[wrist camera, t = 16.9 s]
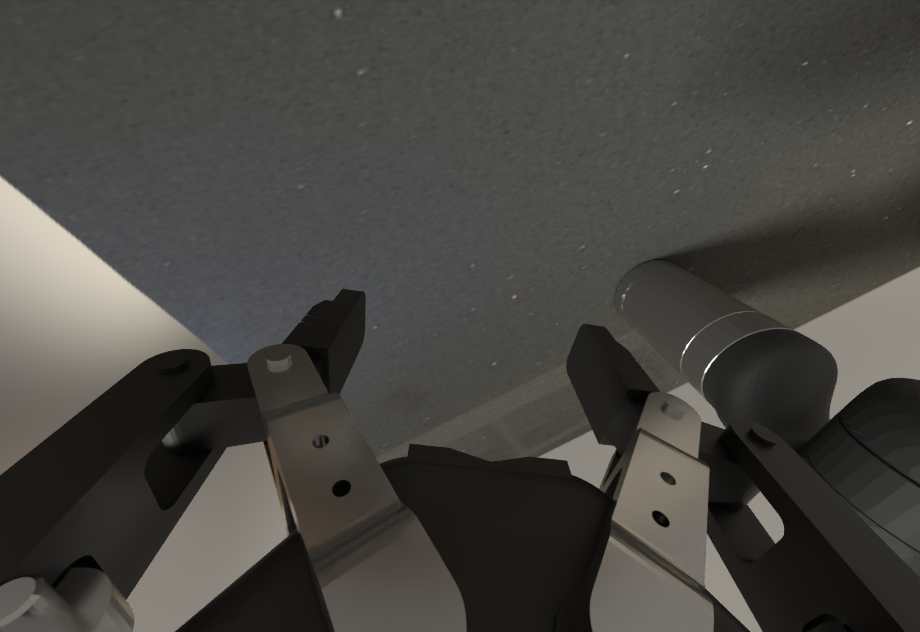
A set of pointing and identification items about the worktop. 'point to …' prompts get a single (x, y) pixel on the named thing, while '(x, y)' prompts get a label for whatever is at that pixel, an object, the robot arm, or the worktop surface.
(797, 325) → the worktop surface
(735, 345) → the robot arm
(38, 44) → the worktop surface
